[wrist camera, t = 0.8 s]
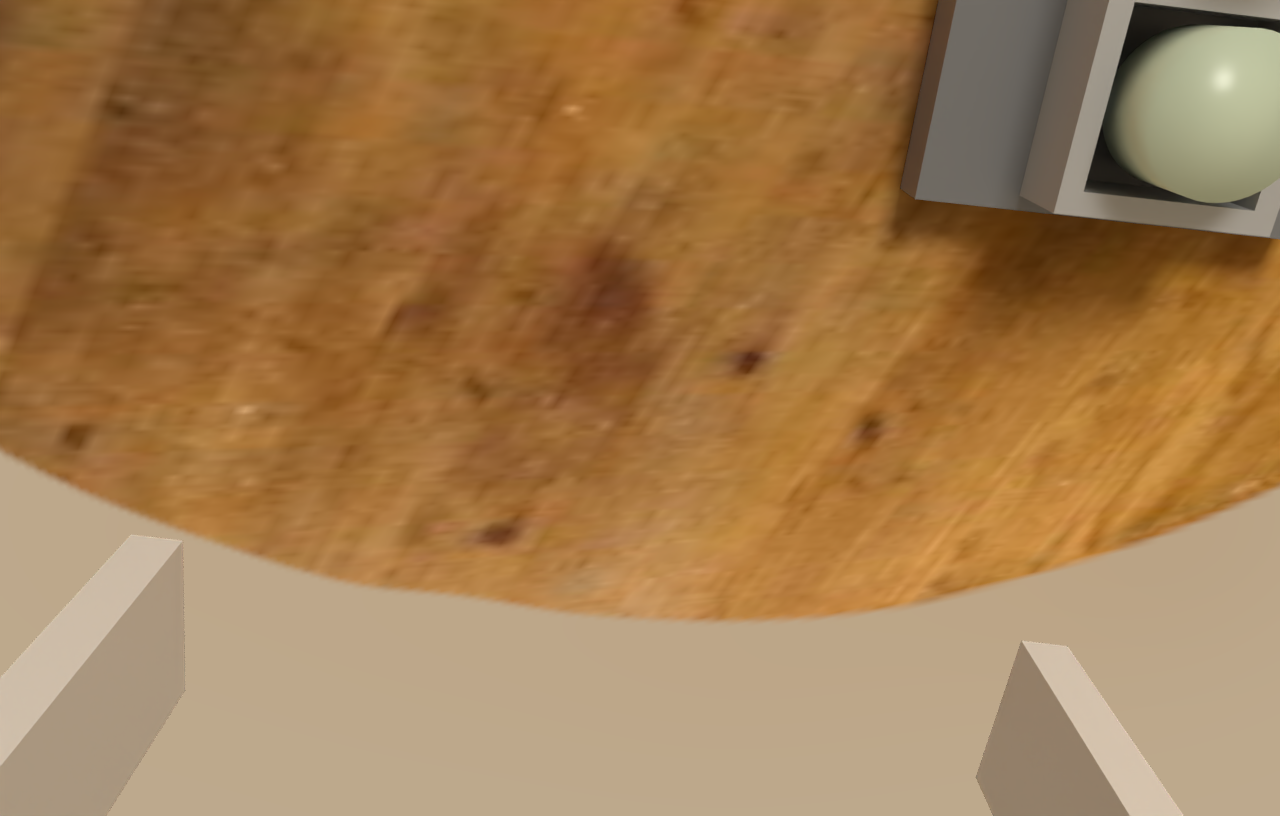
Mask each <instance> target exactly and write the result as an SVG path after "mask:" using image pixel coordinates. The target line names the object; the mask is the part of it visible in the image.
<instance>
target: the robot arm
mask: <svg viewBox="0 0 1280 816" xmlns="http://www.w3.org/2000/svg"><path fill="white" fill-rule="evenodd" d="M184 649H185V645H184V581H183V541H182V540H174V539H166V538H158V537H149V536H140V535H130V536H129V537H128V538H127V539H126V540H125V542H124V543H123V544H122V545H121V546H120V547H119V548H118V549H117V550H116V551H115V553H114V554H113V555H112V556H111V557H110V558H109V559H108V560H107V561H106V562H105V563H104V564H103V566H102V567H101V568H100V569H99V570H98V571H97V572H96V573H95V574H94V575H93V576H92V578H91V579H90V580H89V581H88V582H87V583H86V584H85V585H84V586H83V588H82V589H81V590H80V591H79V592H78V593H77V594H76V595H75V596H74V597H73V599H71V601H70V602H69V603H68V604H67V605H66V606H65V607H64V608H63V609H62V610H61V612H60V613H59V614H58V615H57V616H56V617H55V618H54V619H53V620H52V621H51V622H50V624H49V625H48V626H47V627H46V628H45V629H44V630H43V631H42V632H41V633H40V635H39V636H38V637H37V638H36V639H35V640H34V641H33V642H32V643H31V645H29V647H28V648H27V649H26V650H25V651H24V652H23V653H22V654H21V655H20V656H19V657H18V659H17V660H16V661H15V662H14V663H13V664H12V665H11V666H10V667H9V668H8V669H7V671H6V672H5V673H4V674H3V675H2V676H1V677H0V816H106V815H107V814H108V812H109V811H110V809H111V808H112V806H113V804H114V803H115V801H116V800H117V798H118V796H119V795H120V793H121V792H122V790H123V789H124V787H125V785H126V784H127V782H128V780H129V779H130V777H131V775H132V774H133V772H134V771H135V769H136V768H137V766H138V765H139V763H140V762H141V760H142V758H143V757H144V755H145V754H146V752H147V750H148V749H149V747H150V746H151V744H152V743H153V741H154V739H155V738H156V736H157V734H158V733H159V731H160V730H161V728H162V727H163V725H164V723H165V722H166V720H167V719H168V717H169V716H170V714H171V712H172V711H173V709H174V707H175V706H176V704H177V703H178V701H179V700H180V698H181V696H182V695H183V693H184V692H185V652H184V651H185V650H184ZM976 779H977V781H978V783H979V785H980V788H981V790H982V792H983V794H984V797H985V799H986V801H987V803H988V805H989V808H990V810H991V812H992V814H993V816H1183V814H1182V813H1181V811H1180V810H1179V808H1178V807H1177V805H1176V804H1175V802H1174V801H1173V799H1172V798H1171V797H1170V795H1169V794H1168V792H1167V791H1166V789H1165V788H1164V786H1163V785H1162V783H1161V782H1160V780H1159V779H1158V778H1157V776H1156V775H1155V773H1154V772H1153V770H1152V769H1151V767H1150V766H1149V764H1148V763H1147V762H1146V760H1145V759H1144V757H1143V756H1142V754H1141V753H1140V751H1139V750H1138V748H1137V747H1136V745H1135V744H1134V742H1133V741H1132V740H1131V738H1130V737H1129V735H1128V734H1127V732H1126V731H1125V729H1124V728H1123V726H1122V725H1121V724H1120V722H1119V721H1118V719H1117V718H1116V716H1115V715H1114V714H1113V712H1112V710H1111V709H1110V708H1109V706H1108V705H1107V703H1106V702H1105V700H1104V699H1103V697H1102V696H1101V694H1100V693H1099V691H1098V690H1097V688H1096V687H1095V686H1094V684H1093V683H1092V681H1091V680H1090V678H1089V677H1088V675H1087V674H1086V673H1085V671H1084V669H1083V668H1082V667H1081V665H1080V664H1079V662H1078V661H1077V659H1076V658H1075V656H1074V655H1073V653H1072V652H1071V650H1070V649H1069V648H1068V646H1062V645H1054V644H1046V643H1037V642H1029V641H1021V643H1020V646H1019V649H1018V653H1017V656H1016V658H1015V662H1014V664H1013V667H1012V670H1011V673H1010V676H1009V679H1008V683H1007V685H1006V689H1005V691H1004V695H1003V697H1002V700H1001V703H1000V706H999V710H998V712H997V715H996V718H995V721H994V724H993V727H992V730H991V734H990V736H989V739H988V742H987V745H986V749H985V751H984V754H983V758H982V760H981V763H980V767H979V769H978V772H977V775H976Z"/></svg>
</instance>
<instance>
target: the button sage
mask: <svg viewBox="0 0 1280 816" xmlns="http://www.w3.org/2000/svg"><path fill="white" fill-rule="evenodd" d="M1102 124H1103V133H1104V138H1105V142H1106V145H1107V147H1108V150H1109V152H1110V153H1111V155H1112V157H1113V158H1114V160H1115V161H1116V163H1117V164H1118V165H1119V166H1120V167H1121V168H1122V169H1123V170H1124V171H1126V172H1127V173H1128V174H1130V175H1131V176H1133V177H1135V178H1137V179H1139V180H1141V181H1144V182H1147V183H1149V184H1152V185H1155V186H1157V187H1160V188H1163V189H1165V190H1168V191H1171V192H1173V193H1176V194H1179V195H1181V196H1184V197H1187V198H1190V199H1193V200H1196V201H1200V202H1206V203H1224V202H1231V201H1236V200H1240V199H1243V198H1246V197H1249V196H1251V195H1253V194H1255V193H1258V192H1260V191H1261V190H1263V189H1265V188H1266V187H1268V186H1270V185H1271V184H1272V183H1274V182H1275V181H1276V180H1278V179H1279V178H1280V33H1278V32H1275V31H1273V30H1268V29H1263V28H1250V27H1234V26H1219V25H1202V24H1190V25H1182V26H1178V27H1173V28H1171V29H1168V30H1165V31H1162V32H1160V33H1158V34H1157V35H1155V36H1153V37H1151V38H1150V39H1148V40H1147V41H1145V42H1144V43H1142V44H1141V45H1140V46H1139V47H1138V48H1136V49H1135V50H1134V51H1133V52H1132V53H1131V54H1130V55H1129V56H1128V57H1127V58H1126V60H1125V61H1124V62H1123V64H1122V65H1121V66H1120V67H1119V69H1118V71H1117V72H1116V74H1115V77H1114V81H1113V85H1112V88H1111V92H1110V96H1109V99H1108V103H1107V107H1106V111H1105V114H1104V118H1103V122H1102Z"/></svg>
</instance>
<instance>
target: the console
mask: <svg viewBox="0 0 1280 816" xmlns="http://www.w3.org/2000/svg"><path fill="white" fill-rule="evenodd" d="M1190 24H1202V25H1219V26H1234V27H1250V28H1263V29H1268V30H1273V31H1275V32H1278V33H1280V0H938V5H937V10H936V15H935V20H934V25H933V30H932V35H931V40H930V44H929V49H928V54H927V59H926V64H925V69H924V74H923V79H922V84H921V89H920V94H919V98H918V103H917V108H916V113H915V118H914V123H913V128H912V133H911V138H910V143H909V148H908V153H907V157H906V162H905V167H904V172H903V177H902V182H901V187H900V189H902V190H903V191H904V192H906V193H907V194H909V195H910V196H911V197H913V198H914V199H919V200H928V201H937V202H946V203H955V204H964V205H973V206H982V207H992V208H1001V209H1010V210H1019V211H1028V212H1037V213H1046V214H1055V215H1064V216H1074V217H1083V218H1092V219H1101V220H1110V221H1119V222H1128V223H1137V224H1146V225H1155V226H1165V227H1174V228H1183V229H1192V230H1201V231H1210V232H1219V233H1228V234H1237V235H1246V236H1256V237H1265V238H1274V239H1280V178H1279V179H1278V180H1276V181H1275V182H1274V183H1272V184H1271V185H1270V186H1268V187H1266V188H1265V189H1263V190H1261V191H1260V192H1258V193H1255V194H1253V195H1251V196H1249V197H1246V198H1243V199H1240V200H1236V201H1231V202H1224V203H1206V202H1200V201H1196V200H1193V199H1190V198H1187V197H1184V196H1181V195H1179V194H1176V193H1173V192H1171V191H1168V190H1165V189H1163V188H1160V187H1157V186H1155V185H1152V184H1149V183H1147V182H1144V181H1141V180H1139V179H1137V178H1135V177H1133V176H1131V175H1130V174H1128V173H1127V172H1126V171H1124V170H1123V169H1122V168H1121V167H1120V166H1119V165H1118V164H1117V163H1116V161H1115V160H1114V158H1113V157H1112V155H1111V153H1110V152H1109V150H1108V147H1107V145H1106V142H1105V138H1104V133H1103V124H1102V122H1103V118H1104V114H1105V111H1106V107H1107V103H1108V99H1109V96H1110V92H1111V88H1112V85H1113V81H1114V77H1115V74H1116V72H1117V71H1118V69H1119V67H1120V66H1121V65H1122V64H1123V62H1124V61H1125V60H1126V58H1127V57H1128V56H1129V55H1130V54H1131V53H1132V52H1133V51H1134V50H1135V49H1136V48H1138V47H1139V46H1140V45H1141V44H1142V43H1144V42H1145V41H1147V40H1148V39H1150V38H1151V37H1153V36H1155V35H1157V34H1158V33H1160V32H1162V31H1165V30H1168V29H1171V28H1173V27H1178V26H1182V25H1190Z"/></svg>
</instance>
